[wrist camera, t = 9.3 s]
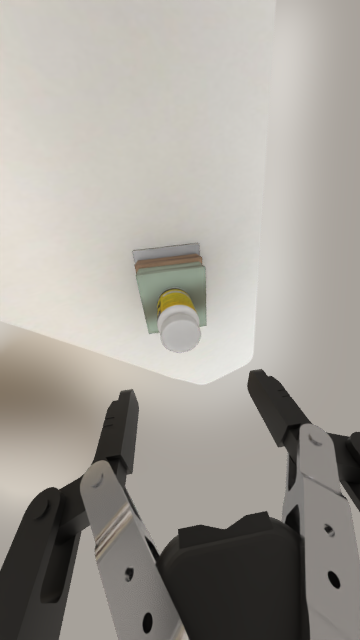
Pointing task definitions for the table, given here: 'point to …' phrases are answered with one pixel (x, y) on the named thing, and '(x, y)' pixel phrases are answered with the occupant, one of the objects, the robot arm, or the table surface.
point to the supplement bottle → (177, 320)
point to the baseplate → (166, 252)
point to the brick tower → (171, 284)
